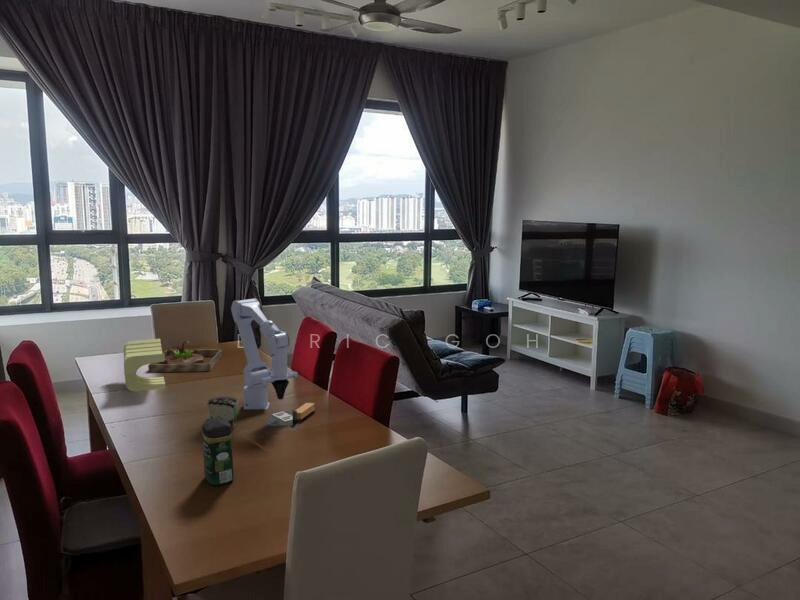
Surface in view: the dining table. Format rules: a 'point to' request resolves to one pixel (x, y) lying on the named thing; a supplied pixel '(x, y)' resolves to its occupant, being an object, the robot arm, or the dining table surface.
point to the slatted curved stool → (138, 356)
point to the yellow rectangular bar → (305, 410)
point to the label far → (280, 414)
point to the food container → (224, 409)
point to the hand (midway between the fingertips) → (280, 398)
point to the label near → (286, 418)
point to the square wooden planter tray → (187, 367)
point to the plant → (183, 357)
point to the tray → (277, 422)
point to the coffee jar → (217, 451)
